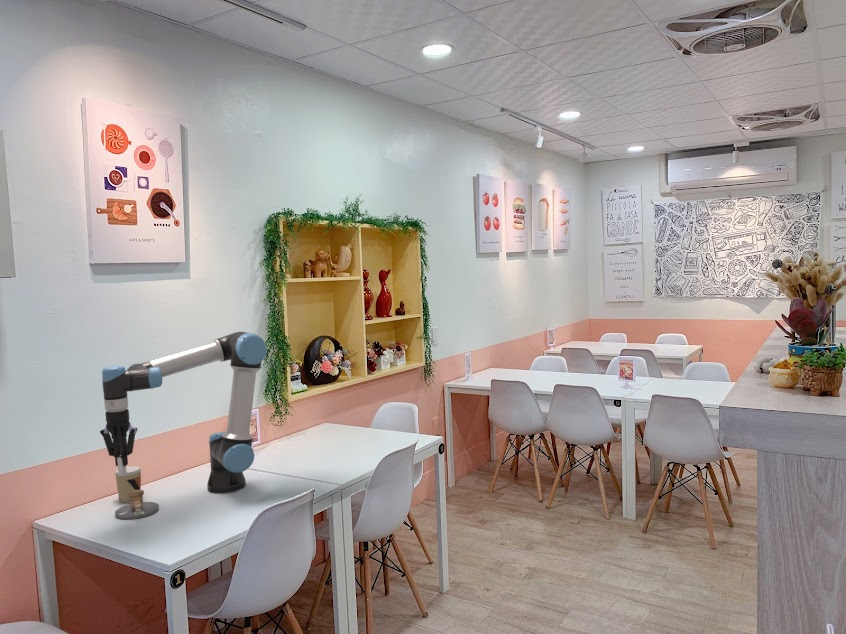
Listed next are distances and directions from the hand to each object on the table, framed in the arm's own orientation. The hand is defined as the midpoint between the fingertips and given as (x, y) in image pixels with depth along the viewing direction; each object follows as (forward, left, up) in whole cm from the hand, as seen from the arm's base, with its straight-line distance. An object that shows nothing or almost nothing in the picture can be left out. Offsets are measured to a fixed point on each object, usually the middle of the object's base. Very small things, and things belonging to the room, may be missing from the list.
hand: (122, 474), depth 232 cm
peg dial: (-2, -5, -16) cm, 17 cm away
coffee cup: (+10, -22, -17) cm, 30 cm away
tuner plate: (0, -8, -17) cm, 19 cm away
